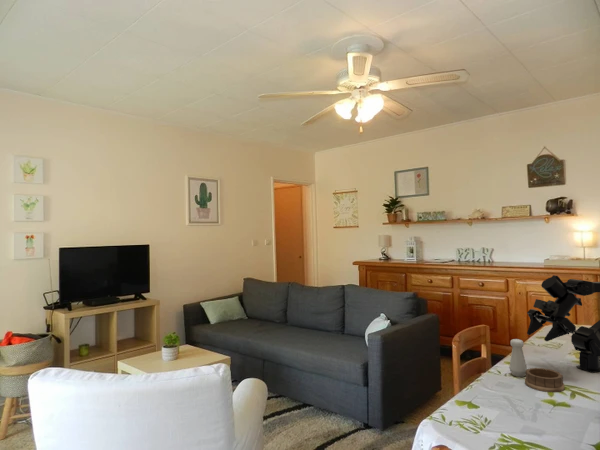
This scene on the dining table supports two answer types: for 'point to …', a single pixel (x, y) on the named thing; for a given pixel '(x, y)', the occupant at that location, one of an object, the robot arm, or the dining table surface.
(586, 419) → the dining table surface
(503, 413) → the dining table surface
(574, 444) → the dining table surface
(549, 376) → the collar stand
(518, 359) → the salt shaker
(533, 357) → the dining table surface
